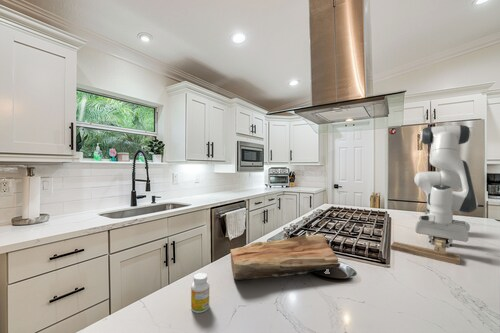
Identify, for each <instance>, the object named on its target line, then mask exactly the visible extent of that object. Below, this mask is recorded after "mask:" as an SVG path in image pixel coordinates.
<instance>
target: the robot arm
mask: <svg viewBox="0 0 500 333" xmlns="http://www.w3.org/2000/svg"><path fill="white" fill-rule="evenodd" d="M471 136H472V132H471V129H470V127H469V126H467V125H461V124H460V125H456V124H455V125H452V124H449V125H446V124H445V125H436V126H427V127H424V128H422V130H421V133H420V136H419V138H420V141H421V143H422V144H424V145H428V146H430V150H429V164H430V165H431V166H432V167H434V168H437V169H439V170H440V171H419V172H417V173H416V174H415V175H414V177H413V179H414V184H415V185H416V186H417V187H418V188H420V189H421V190H422V191H423V192H424V193H425V196H426V211H425V212H426V213H420V214H418V217H417V218H418V219H417V221H416V222H415V227H414V232H415V233H417V234H419V235H425V236H427V237H428V239H429V241H431V243H430V245H432V246H434V245H435V241H433V236H436V237H441V238H447V239H449V240H448V242H449V243H446V244H445V245H446V246H445V247H446V249H450V247H449V245H450V244H452V243H453V240H454V241H459V242H464V243H466V242H468V241H469V231H470V229H471V226H470V223H468V222H466V221H464V220H458V219H457V220H456V219H454V218H453V217H454V212H453V211H456V212H461V213H467V214H470V213H473V212H474V211H476V210H477V209H478V207H479V203H478V202H479V201H478V198H477V196H476V193H475V190H474V185H473V181H472V180H473V179H472V177H471V172H470V168H469V166H468V163H467V161H466V160H464V159H462V158H461V157H460V154H459V151H460V150H459V149H460V148H459V145H463V144H466V143H467V142H469V140H470V139H471ZM457 189H458V190H459V189H462V191H456V190H457ZM453 190H455V191H453Z"/></svg>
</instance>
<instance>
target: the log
mask: <svg viewBox="0 0 500 333" xmlns="http://www.w3.org/2000/svg"><path fill="white" fill-rule="evenodd" d="M230 263H231V272H232V277H233V280H238V281H245V280H250V279H251V280H252V279H259V278H279V277H284V276H285V277H286V276H292V275H293V276H299V275H303V274H304V275H306V274H309V273H312V272H315V271H324V270H327V269H333V268H340V266H341V264H342V263H340V262H339V258H338V256H337V255H336V253H335V252H334V250H333V248H331V247H330V246H329V244H328V242H327V238H326V236H325V234H323V233H322V234H312V235H306V234H303V235H300V236H294V237H291V238H282V239H281V238H279V239H274V240H270V241H258V242H252V243H250V244H248V245H247V246H240V247H236V248H231V249H230Z"/></svg>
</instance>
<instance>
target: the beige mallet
mask: <svg viewBox="0 0 500 333" xmlns="http://www.w3.org/2000/svg"><path fill="white" fill-rule="evenodd" d="M445 244H446V239H442V238H436V237H435V245H433V248H434V249H433V250H437V252H439V251H442V252H446V249H447V248H446V247H445V246H446V245H445Z"/></svg>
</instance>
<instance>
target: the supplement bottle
mask: <svg viewBox="0 0 500 333" xmlns="http://www.w3.org/2000/svg"><path fill="white" fill-rule="evenodd" d="M190 291H191V292H190V294H191V295H190V298H191V299H190V304H191V305H190V307H191V311H192V312H193V313H197V314H199V313H201V314H202V313H204V312H207V311H208V310H209V308H210V282H209V281H208V274H207V273H204V272H199V273H196V274H194V276H193V282H192V284H191V286H190Z"/></svg>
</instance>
